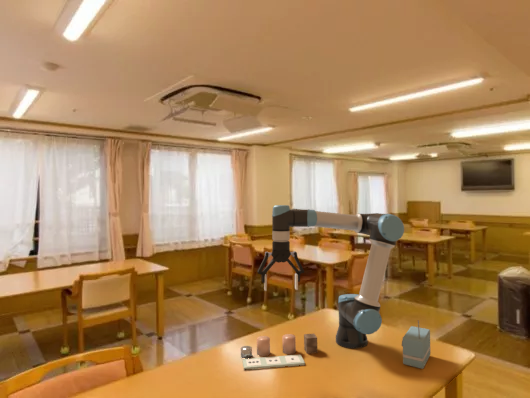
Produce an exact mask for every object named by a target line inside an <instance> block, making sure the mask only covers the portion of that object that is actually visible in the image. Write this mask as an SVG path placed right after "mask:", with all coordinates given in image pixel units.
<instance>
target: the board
mask: <svg viewBox="0 0 530 398" xmlns="http://www.w3.org/2000/svg"><path fill="white" fill-rule="evenodd" d="M305 363H306V362H305V360H304V358H303V357H302V354H291V355H288V354H286V355H277V356H276V355H275V356H265V357H252V358H249V359H242V367H244V368H243V370H244V369H252V370H259V369H258V368H264V369H271V368H270V367H276V368H284V367H285V366H288V367H296V366H297V367H299V365H300V366H306V364H305ZM285 368H286V367H285Z"/></svg>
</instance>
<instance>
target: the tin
mask: <svg viewBox="0 0 530 398" xmlns="http://www.w3.org/2000/svg"><path fill="white" fill-rule="evenodd" d="M241 357H242V358H245V359H248V358H251V357H252V358H253V347H252V346H250V345H243V346H241V347H240V358H241ZM242 358H241V359H242Z"/></svg>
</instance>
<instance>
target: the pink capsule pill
mask: <svg viewBox="0 0 530 398" xmlns="http://www.w3.org/2000/svg"><path fill="white" fill-rule="evenodd" d="M256 354H257V356H258V355H259V356H258V357H261V356H265V357H268V356H270V355H271V337H270V336H267V335H259V336H258V337H256ZM269 354H270V355H269ZM267 355H268V356H267Z"/></svg>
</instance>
